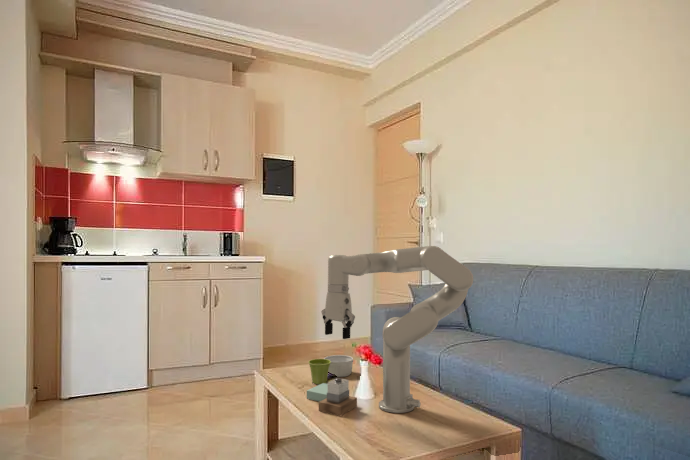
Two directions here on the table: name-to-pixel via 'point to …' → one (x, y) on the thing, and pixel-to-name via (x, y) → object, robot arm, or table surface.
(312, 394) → the stand teal
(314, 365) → the plant pot
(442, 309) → the robot arm
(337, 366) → the ramekin
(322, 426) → the table surface
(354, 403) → the stand walnut
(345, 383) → the block
